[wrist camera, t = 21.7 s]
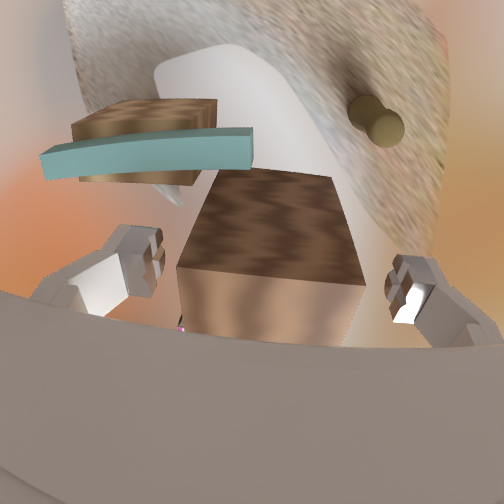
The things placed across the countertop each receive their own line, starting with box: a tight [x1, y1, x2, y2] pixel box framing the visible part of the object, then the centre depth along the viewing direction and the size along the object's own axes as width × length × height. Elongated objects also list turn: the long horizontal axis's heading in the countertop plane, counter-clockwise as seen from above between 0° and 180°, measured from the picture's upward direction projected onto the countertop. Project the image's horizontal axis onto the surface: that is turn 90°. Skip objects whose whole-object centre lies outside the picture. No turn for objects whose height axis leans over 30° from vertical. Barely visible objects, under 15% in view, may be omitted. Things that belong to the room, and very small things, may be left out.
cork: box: [348, 95, 405, 148], centre depth 37 cm, size 6×6×11 cm
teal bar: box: [39, 128, 253, 180], centre depth 31 cm, size 26×4×4 cm, turn 91°
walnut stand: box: [176, 168, 366, 347], centre depth 42 cm, size 18×12×26 cm, turn 86°
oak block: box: [71, 99, 217, 186], centre depth 39 cm, size 16×8×15 cm, turn 86°
